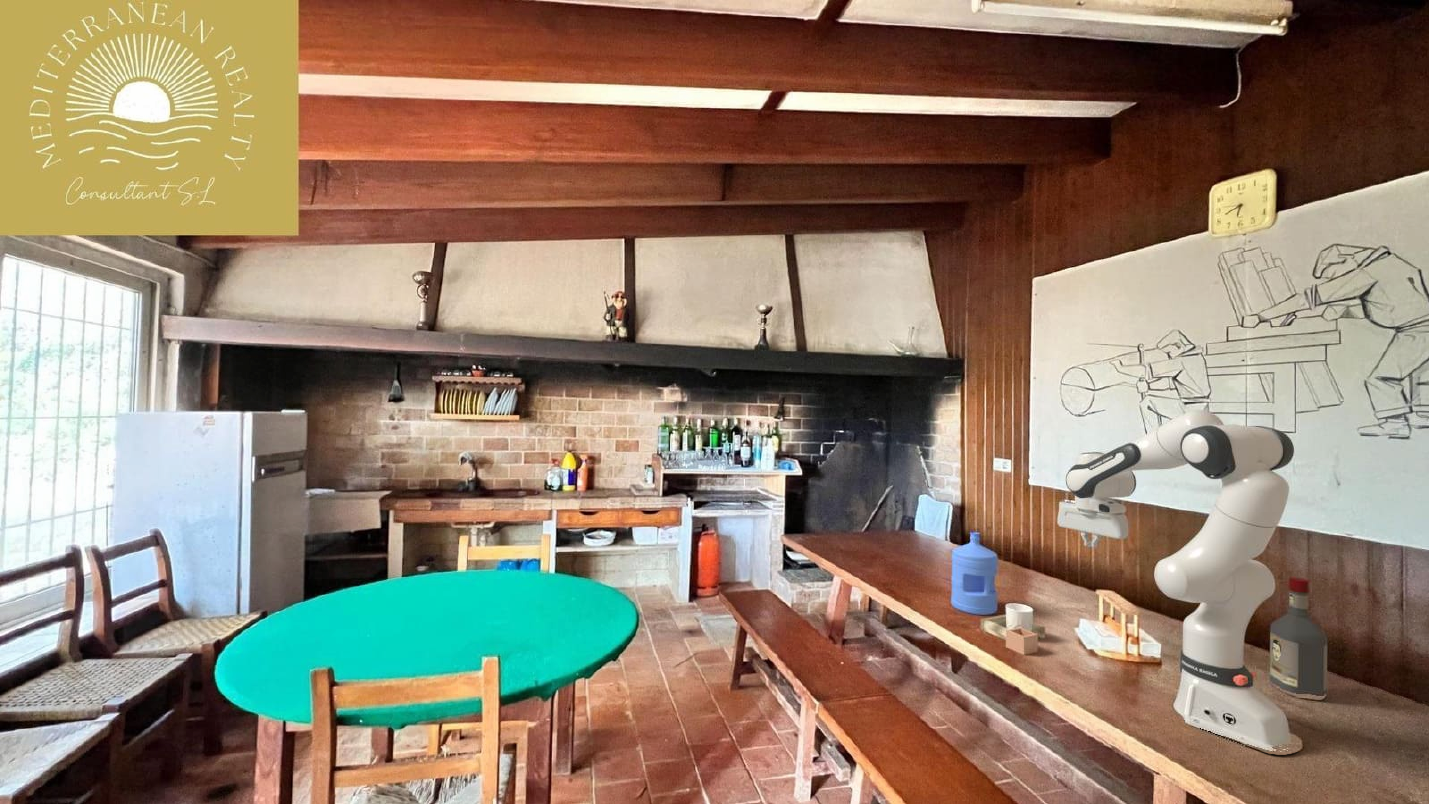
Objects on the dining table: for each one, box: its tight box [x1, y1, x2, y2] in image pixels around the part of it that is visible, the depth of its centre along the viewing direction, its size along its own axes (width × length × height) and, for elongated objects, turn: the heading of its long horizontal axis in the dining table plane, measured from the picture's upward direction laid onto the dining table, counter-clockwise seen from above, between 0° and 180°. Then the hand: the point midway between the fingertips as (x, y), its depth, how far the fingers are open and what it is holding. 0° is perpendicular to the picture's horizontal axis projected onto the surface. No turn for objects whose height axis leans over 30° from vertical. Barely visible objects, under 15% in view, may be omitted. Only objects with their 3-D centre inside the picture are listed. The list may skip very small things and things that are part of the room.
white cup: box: [1005, 602, 1034, 632], centre depth 181 cm, size 8×8×10 cm
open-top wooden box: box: [1005, 627, 1039, 656], centre depth 171 cm, size 6×6×6 cm
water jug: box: [950, 531, 999, 616], centre depth 209 cm, size 16×16×28 cm
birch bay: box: [980, 613, 1046, 641], centre depth 184 cm, size 13×14×4 cm
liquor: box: [1269, 576, 1328, 696], centre depth 149 cm, size 9×9×30 cm
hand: (1090, 547), depth 177 cm, fingers closed
